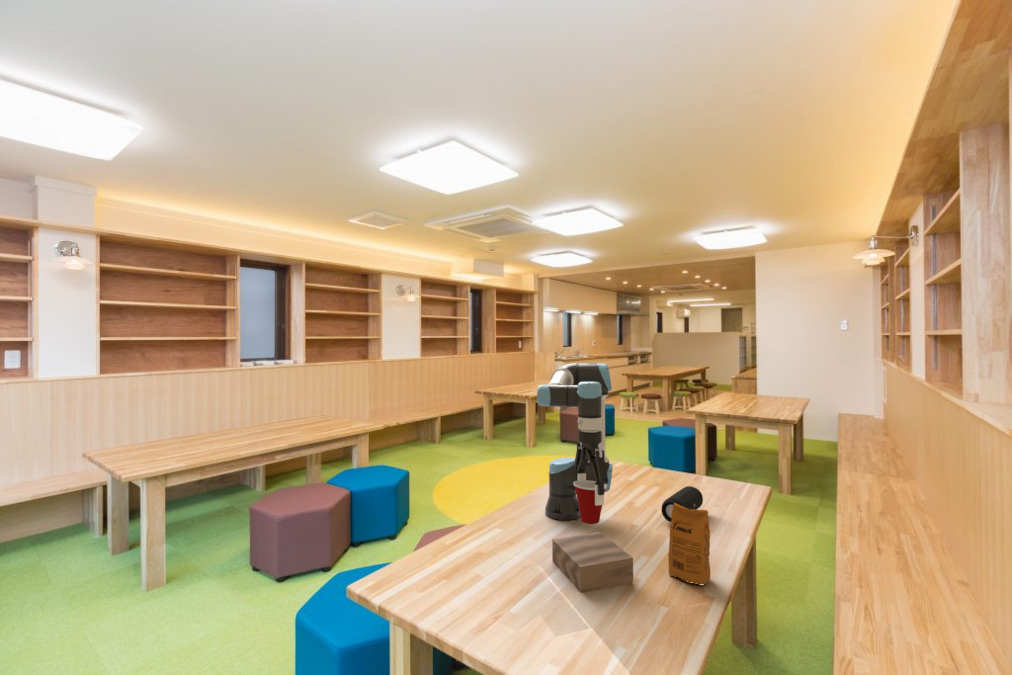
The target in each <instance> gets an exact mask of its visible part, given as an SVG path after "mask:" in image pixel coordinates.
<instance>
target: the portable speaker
mask: <svg viewBox="0 0 1012 675" xmlns="http://www.w3.org/2000/svg"><path fill="white" fill-rule="evenodd" d="M703 498H704V497H703V494H702V492H701V491H700V489H698V488H696V487H694V486H691V485H690V486H688V485H687V486H684V487H683V488H682V489H680V490H678V491H677V492H675V493H674V494H672V495H671V496H670V497H668V498H666V499H665V500H664V501H663V502H662V505H661V514H662V517H663V518H664V520H666V521H667V522H669V523H671V520H672V510H673V505H674V503H676V504H678V505H680V506H683V507H685V508H687V509H694V510H699V509H700V508H701V507H702V506H703V503H704V502H703V501H704V499H703Z"/></svg>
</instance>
